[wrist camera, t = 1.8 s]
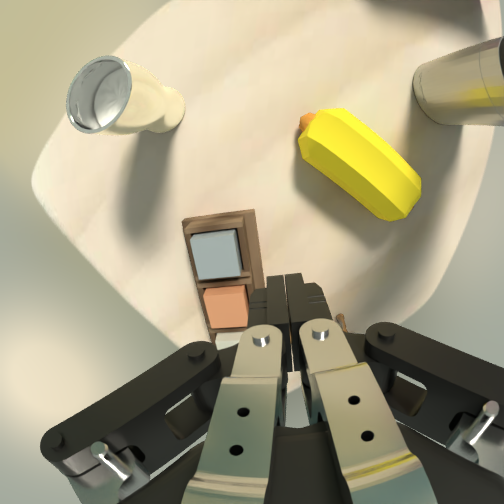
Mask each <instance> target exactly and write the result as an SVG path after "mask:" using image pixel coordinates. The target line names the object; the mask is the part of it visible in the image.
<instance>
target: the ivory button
mask: <svg viewBox="0 0 504 504" xmlns="http://www.w3.org/2000/svg"><path fill="white" fill-rule="evenodd" d="M243 332H244V331H240V332H224V333H217V336H216V340H215V343H216V346H217V350H220V349H224V348H228V347H231V346H233V345H235V344H237V343H239V340H240V337H241V335H242V333H243Z"/></svg>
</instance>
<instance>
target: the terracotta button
mask: <svg viewBox="0 0 504 504" xmlns="http://www.w3.org/2000/svg"><path fill="white" fill-rule="evenodd" d="M203 298H204V302H205V306H206V310H207V313H208V317H209V321H210V325H211V328H229V327H244V326H247V322H248V312H249V301H248V295H247V289H246V284H242V285H231V286H220V287H208V288H206V290H205V293H204V295H203Z"/></svg>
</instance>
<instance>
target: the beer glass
mask: <svg viewBox="0 0 504 504" xmlns="http://www.w3.org/2000/svg"><path fill="white" fill-rule="evenodd" d="M66 109H67V115H68V118H69V120H70V122H71V124H72V125H73V126H74V127H75V128H76V129H77V130H79V131H80V132H83V133H87V134H99V135H111V136H119V135H129V134H133V133H137V132H140V131H143V130H146V129H148V130H150V131H152V132H156V133H163V132H167V131H170V130H172V129H173V128H175V127H176V126H177V125H178V124H179V123H180V121H181V120H182V118H183V115H184V112H185V102H184V99H183V97H182V95H181V94H180V93H179V92H178V91H177V90H175V89H173V88H170V87H164V86H163V85H162V84H161V82H160V81H159V80H158V79H157V78H156V77H155V76H154V75H153V74H152V73H151V72H150V71H148V70H147V69H145V68H143V67H142V66H139V65H137V64H135V63H132V62H130V61H127V60H123V59H120V58H118V57H115V56H101V57H98V58H96V59H93V60H92V61H90V62H89V63H87V64H86V65H85V66H84V67H82V69H81V70H80V71H79V72H78V73H77V74H76V76H75V78H74V79H73V81H72V83H71V85H70V87H69V90H68V94H67V100H66Z"/></svg>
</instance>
